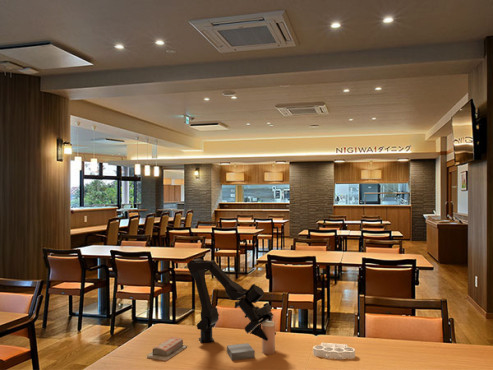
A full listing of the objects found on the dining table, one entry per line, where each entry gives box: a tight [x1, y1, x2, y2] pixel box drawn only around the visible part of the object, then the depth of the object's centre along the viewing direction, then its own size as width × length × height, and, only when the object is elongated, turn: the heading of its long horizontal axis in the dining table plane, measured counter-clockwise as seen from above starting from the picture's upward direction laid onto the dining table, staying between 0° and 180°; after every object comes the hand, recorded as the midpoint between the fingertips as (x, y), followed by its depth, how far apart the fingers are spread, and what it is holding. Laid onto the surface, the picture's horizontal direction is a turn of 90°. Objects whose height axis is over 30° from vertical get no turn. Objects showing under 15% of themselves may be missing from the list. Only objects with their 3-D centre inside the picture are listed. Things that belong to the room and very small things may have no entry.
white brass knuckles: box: [312, 342, 356, 360], centre depth 191 cm, size 3×18×15 cm
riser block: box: [226, 342, 256, 361], centre depth 191 cm, size 10×10×3 cm
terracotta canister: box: [261, 320, 276, 355], centre depth 194 cm, size 6×6×13 cm
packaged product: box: [146, 336, 188, 362], centre depth 194 cm, size 18×5×10 cm
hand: (271, 337), depth 193 cm, fingers open, 8 cm apart
